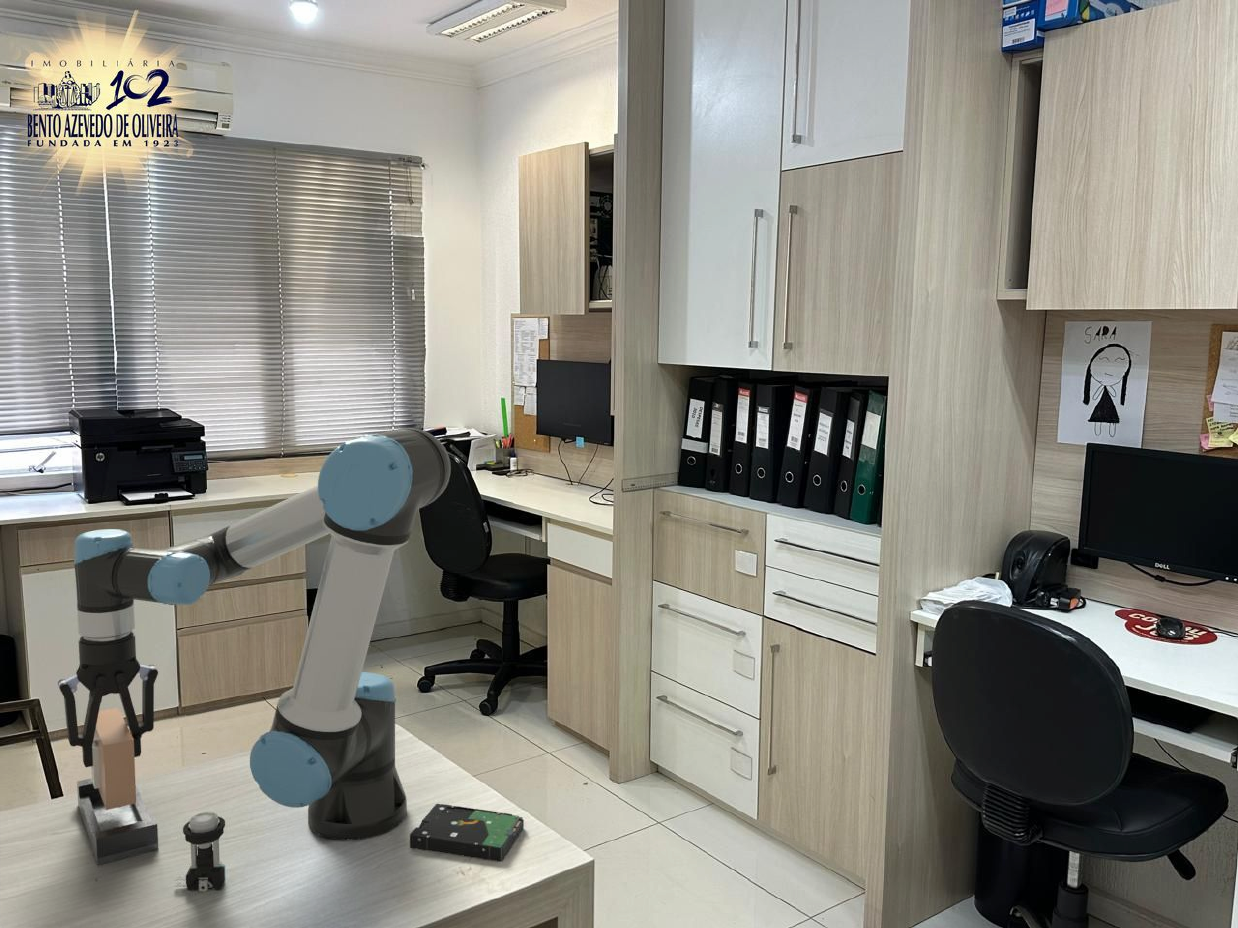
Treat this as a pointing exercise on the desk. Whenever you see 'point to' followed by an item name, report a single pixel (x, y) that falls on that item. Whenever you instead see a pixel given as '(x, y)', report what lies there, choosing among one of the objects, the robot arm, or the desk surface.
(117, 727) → the orange rectangular block
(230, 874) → the desk surface
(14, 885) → the desk surface
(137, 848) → the dark grey tray
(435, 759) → the desk surface
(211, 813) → the push button
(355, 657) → the robot arm
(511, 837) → the disk drive
